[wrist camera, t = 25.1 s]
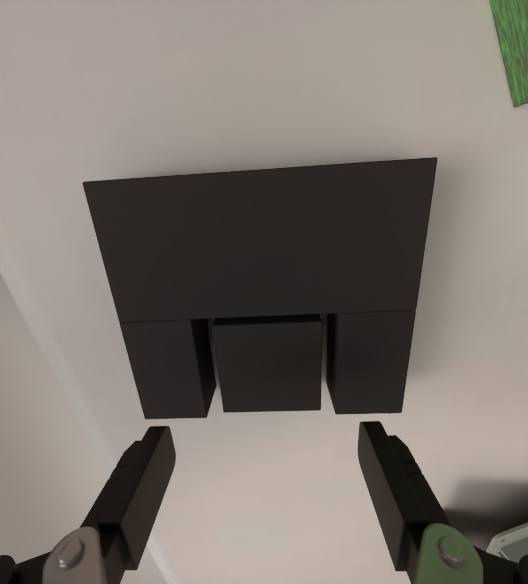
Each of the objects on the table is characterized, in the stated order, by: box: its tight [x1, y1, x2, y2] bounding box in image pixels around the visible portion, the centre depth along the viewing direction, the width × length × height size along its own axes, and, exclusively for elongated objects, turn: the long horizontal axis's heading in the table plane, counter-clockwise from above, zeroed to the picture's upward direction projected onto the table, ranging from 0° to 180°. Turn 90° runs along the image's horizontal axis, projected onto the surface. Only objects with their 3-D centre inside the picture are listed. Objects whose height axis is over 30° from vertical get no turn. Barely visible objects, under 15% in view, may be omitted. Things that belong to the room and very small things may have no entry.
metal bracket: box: [486, 523, 528, 563], centre depth 22 cm, size 14×6×15 cm
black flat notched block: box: [83, 157, 437, 419], centre depth 16 cm, size 16×14×3 cm
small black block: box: [212, 314, 322, 412], centre depth 17 cm, size 6×6×3 cm
